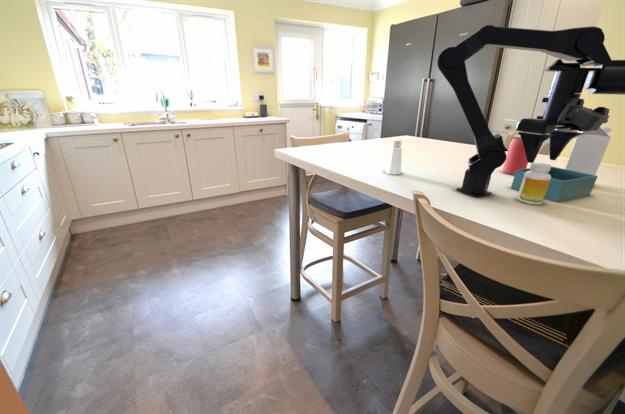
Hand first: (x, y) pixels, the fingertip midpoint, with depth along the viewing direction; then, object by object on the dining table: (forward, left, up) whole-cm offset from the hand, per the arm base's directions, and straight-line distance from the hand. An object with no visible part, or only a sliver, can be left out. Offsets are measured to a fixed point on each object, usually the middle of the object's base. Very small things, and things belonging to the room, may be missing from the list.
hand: (541, 161), depth 70 cm
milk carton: (+30, +4, -11) cm, 32 cm away
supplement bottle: (-1, -1, -11) cm, 11 cm away
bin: (+13, +2, -10) cm, 17 cm away
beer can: (+23, +19, -11) cm, 32 cm away
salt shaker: (-17, +34, -11) cm, 40 cm away
